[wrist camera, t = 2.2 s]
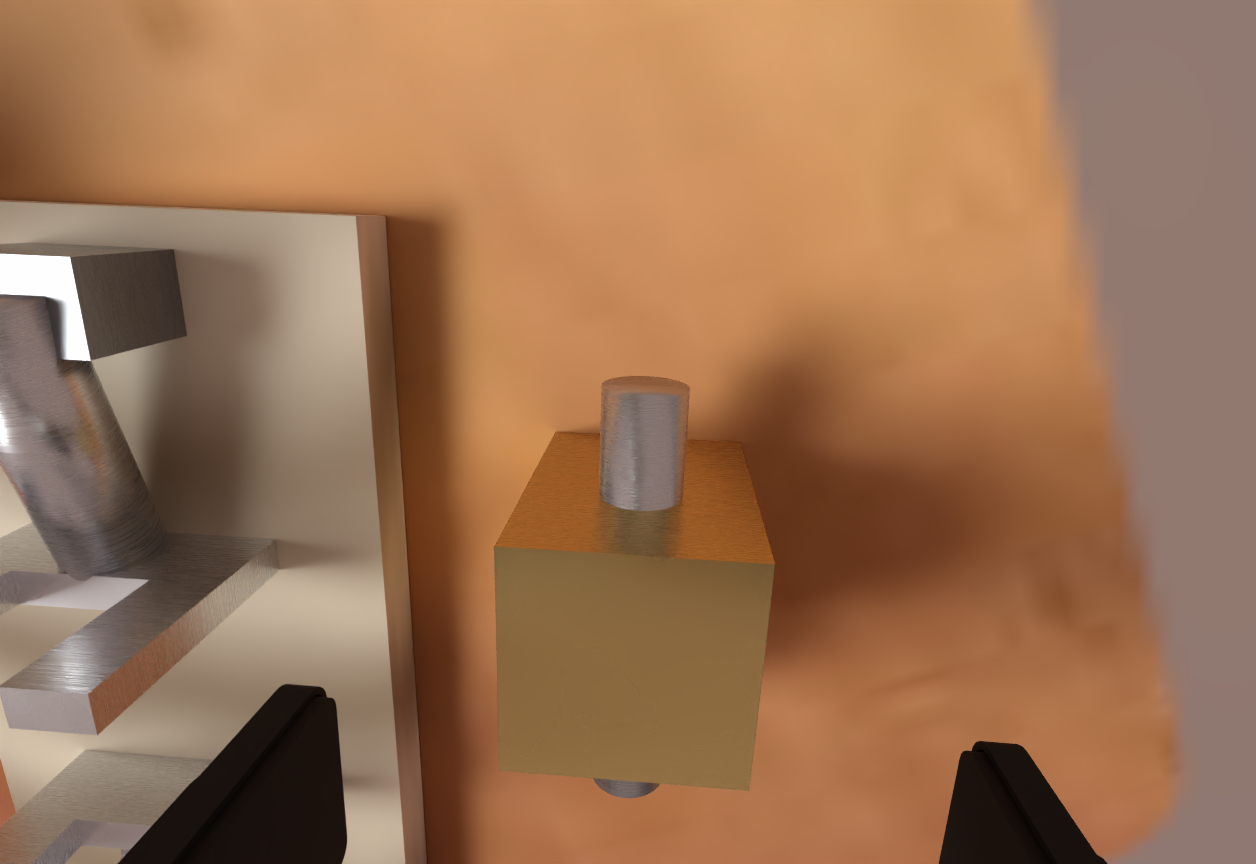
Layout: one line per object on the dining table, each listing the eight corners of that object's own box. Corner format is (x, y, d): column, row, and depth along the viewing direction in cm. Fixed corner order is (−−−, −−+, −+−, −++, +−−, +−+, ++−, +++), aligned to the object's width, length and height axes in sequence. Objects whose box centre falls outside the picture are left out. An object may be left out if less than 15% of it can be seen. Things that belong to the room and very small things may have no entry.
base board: (-88, 196, 16) (-163, 194, 15) (385, 215, 15) (355, 216, 14) (97, 913, 23) (59, 960, 21) (432, 944, 22) (415, 995, 21)
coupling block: (556, 344, 16) (491, 418, 10) (748, 354, 16) (790, 435, 10) (554, 662, 19) (501, 861, 13) (719, 674, 19) (738, 882, 13)
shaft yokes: (-39, 240, 15) (-436, 255, 9) (239, 252, 14) (-11, 275, 9) (133, 949, 21) (-48, 1197, 16) (330, 968, 21) (212, 1226, 15)
